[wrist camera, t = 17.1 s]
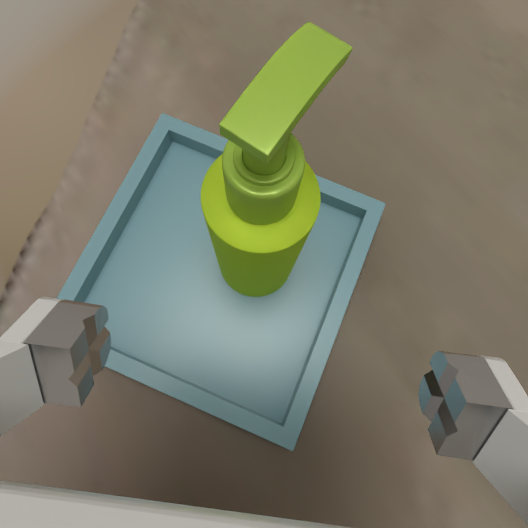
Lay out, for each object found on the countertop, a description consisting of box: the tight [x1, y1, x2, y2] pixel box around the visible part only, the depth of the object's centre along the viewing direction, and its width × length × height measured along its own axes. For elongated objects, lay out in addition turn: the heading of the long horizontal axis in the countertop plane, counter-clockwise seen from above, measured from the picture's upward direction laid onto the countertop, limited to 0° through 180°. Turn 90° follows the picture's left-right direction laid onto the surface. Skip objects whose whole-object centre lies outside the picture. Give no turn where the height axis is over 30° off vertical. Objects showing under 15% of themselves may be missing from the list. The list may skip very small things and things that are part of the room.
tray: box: [57, 113, 386, 451], centre depth 31 cm, size 20×20×2 cm
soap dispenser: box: [201, 22, 353, 297], centre depth 22 cm, size 6×7×20 cm
